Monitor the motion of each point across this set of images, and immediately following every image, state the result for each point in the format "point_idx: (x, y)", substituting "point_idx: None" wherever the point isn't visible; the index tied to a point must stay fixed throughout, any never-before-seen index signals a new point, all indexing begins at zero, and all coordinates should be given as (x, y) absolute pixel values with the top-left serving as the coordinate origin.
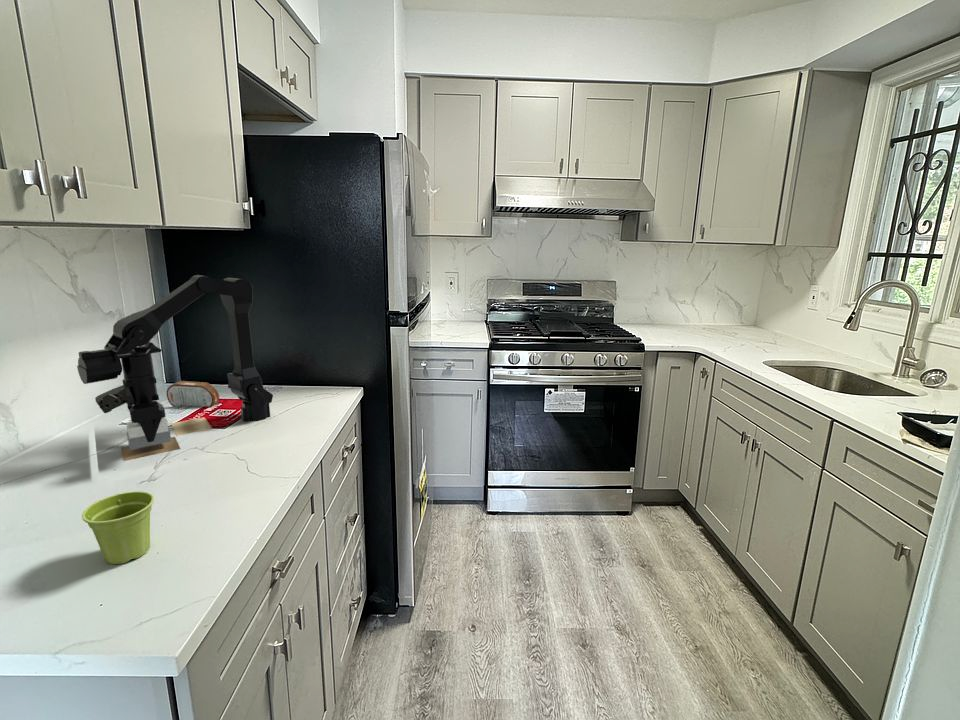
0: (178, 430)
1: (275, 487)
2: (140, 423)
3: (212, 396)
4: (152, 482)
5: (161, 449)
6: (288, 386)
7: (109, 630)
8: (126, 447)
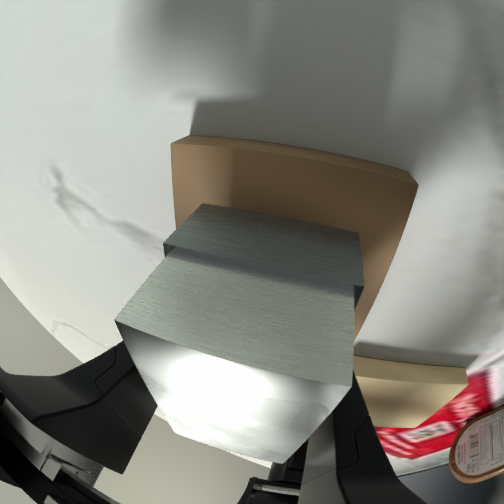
0: (388, 386)
1: (33, 310)
2: (52, 379)
3: (451, 462)
4: (51, 195)
5: None
6: (419, 470)
7: None
8: (388, 206)
